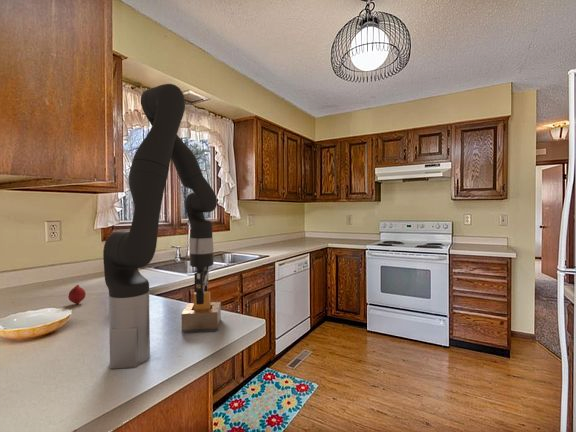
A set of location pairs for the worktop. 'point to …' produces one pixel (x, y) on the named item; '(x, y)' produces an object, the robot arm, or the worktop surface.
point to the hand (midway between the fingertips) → (202, 300)
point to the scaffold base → (201, 318)
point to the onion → (77, 294)
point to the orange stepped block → (206, 303)
